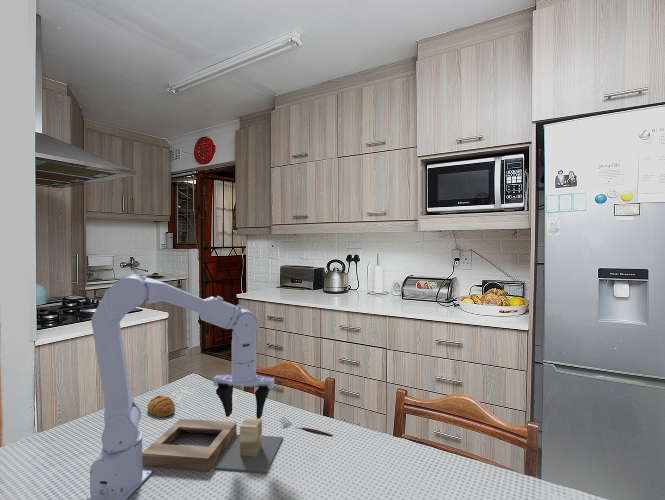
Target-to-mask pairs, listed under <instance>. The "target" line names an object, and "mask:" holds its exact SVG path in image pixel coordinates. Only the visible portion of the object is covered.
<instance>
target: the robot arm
mask: <svg viewBox="0 0 665 500" xmlns="http://www.w3.org/2000/svg"><path fill="white" fill-rule="evenodd" d="M145 299H147V305H149V304H155V303H159V302H160V303H161V302H166V303H168V304H171V305H175V306H177V307H180V308H183V309H186V310H189V311H193V312H196V313H198V316H199V318H200V320H201V321H202V322H203V321H204V322H206V323H209V324H211V325H214V326H217V327H220V328H222V329H225V330H232V331H231V334H232V335H231V336H232V337H231V338H232V339H231V374H222V375H221V374H217V375H215V376H214V377H213V386H214V387H217V388H216V390H215V393H216V395H217V396H218V398H219V399H220V402H221V404H222V407H223V410H224V414H225V417H226V418H229V417H230V416H231V415H232V413H233V395H234V394H233V392H234V387H246V388H247V387H248V388H249V387H250V388H251V387H252V388H256V390H255V392H254V395H255V403H256V412H255V413H256V415H255V416H256V419H262V418H261V417H262V416H263V412H264V407H265V403H266V400H267V397H268V395H269V392H270V390H272V389H274V387H275V377H270V376H269V377H268V376H263V375H258V374H257V340H256V337H257V335H256V334H257V331H258V329H259V328H260V327H259V326H260V323H259V322H258V321H259V320H258V318H257V317H256V314H254V313H253V312H252V311H250V310H249V309H247V308H246V307H243V306H242V305H241V304H236V305H235V304H232V303H230V302H227V301H225V300H224V298H223V297H222V296H219V295H217V296H216V297H215V296H210V297H207V298H205V299H204V298H201V297H200V296H197V295H194V294H193V293H191V292H187V291H184V290H183V289H181V288H178V287H176V286H173V285H171V284H168V283H166V282H164V281H161V280H157V279H154V278H150V277H143V276H141V275H139V274H136V273H132V274H126V275H124V276H123V277H121V278H120V279H119V280H117V281H116V282H115V283H114V284H112V285H111V286H110V287H109V288H108V289H107V290H106V291H105V292H104V294H103V297H102V299H101V300H100V302H99V304H98V306H97V307H96V309H95V310H94V313H93V315H92V317H91V322H90V323H91V327H92V334H93V341H94V345H95V352H96V356H97V363H98V371H99V375H100V382H101V388H102V394H103V395H102V396H103V399H104V400H103V402H104V413H103V414H104V415H103V421H104V427H103V428H104V429H103V431H102V434H101V443H102V447H101V452H100V453H99V455H98V456H97V458H96V459H95V460H94V461H93V463H92V464H91V465H90V468H89V494H88V495H87V496H86V500H127V499H128V498H129V497H131V495H132V494H133V493H134V492H135V491H136V490H137V489H139V487H140V486H141V485H142V484H143V483H144V482H145V481H146V480H147V479H148V478H149V477H150V476H151V475H152V473H153V471H152V470H150V469H149V470H148V469H144V468H143V467H144V466H143V463H142V453H143V434H142V433H141V432H140V430H139V423H140V420H141V417H142V416H141V415H142V410H141V408H140V407H139V406H138V405H137V404H136V402H135V399H134V394H133V393H132V390H131V386H130V385H131V384H130V377H129V373H128V365H127V359H126V353H125V348H124V339H123V335H122V334H123V333H122V329H121V323H120V322H121V321H122V320H123V319H124V318H125V316H127V314H128V313H129V312H131V311H132V310H134V309H136V308H138V307H139V306H140V305H141V304H143V303H144V301H145Z"/></svg>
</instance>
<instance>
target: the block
mask: <svg viewBox="0 0 665 500" xmlns="http://www.w3.org/2000/svg"><path fill="white" fill-rule="evenodd" d="M239 434H240V455H244V456H257V455H258V453H259V451H260V450H261V448H262V436H263V419H262V418H260V419H257V418H253V417H252V418H250V417H246V418H245V419H244V420H243V421H242V423H241V424H240V425H239Z"/></svg>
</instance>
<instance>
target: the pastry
mask: <svg viewBox="0 0 665 500" xmlns="http://www.w3.org/2000/svg"><path fill="white" fill-rule="evenodd" d="M146 408H147V411H148V413H149V414H150V415H153V416H155V417H158V418H161V417H162V418H165V417H168V416H170V415H172V414H174V412H175V411H176V406H175V403H174V401H173V399H172V398H170V397H169V396H164V395H156V396H154V397H153V398H151V399H150V401H149V402H148V404H147V407H146Z"/></svg>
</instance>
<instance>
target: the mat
mask: <svg viewBox="0 0 665 500" xmlns="http://www.w3.org/2000/svg"><path fill="white" fill-rule="evenodd" d="M283 440H284V437H283V436H273V435H272V436H271V435H262V448H261V450H260V451H259V453H258V455H257V456H244V455H240V433H239V434H238V435H236V437H235V439H234V440H233V442H232V443H231V444H230V445H229V447H228V448H227V450H226V451H224V454H223V455H222V457H221V458H220V460H218V462H217V464H216V465H215V466H214V470H221V471H233V472H234V471H236V472H243V473H244V472H247V473H256V474H257V473H260V474H267V472H268V471H269V468H270V467H271V465H272V462H273V460H274V459H275V456H276V454H277V452H278V450H279V448H280V446H281V444H282V442H283Z"/></svg>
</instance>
